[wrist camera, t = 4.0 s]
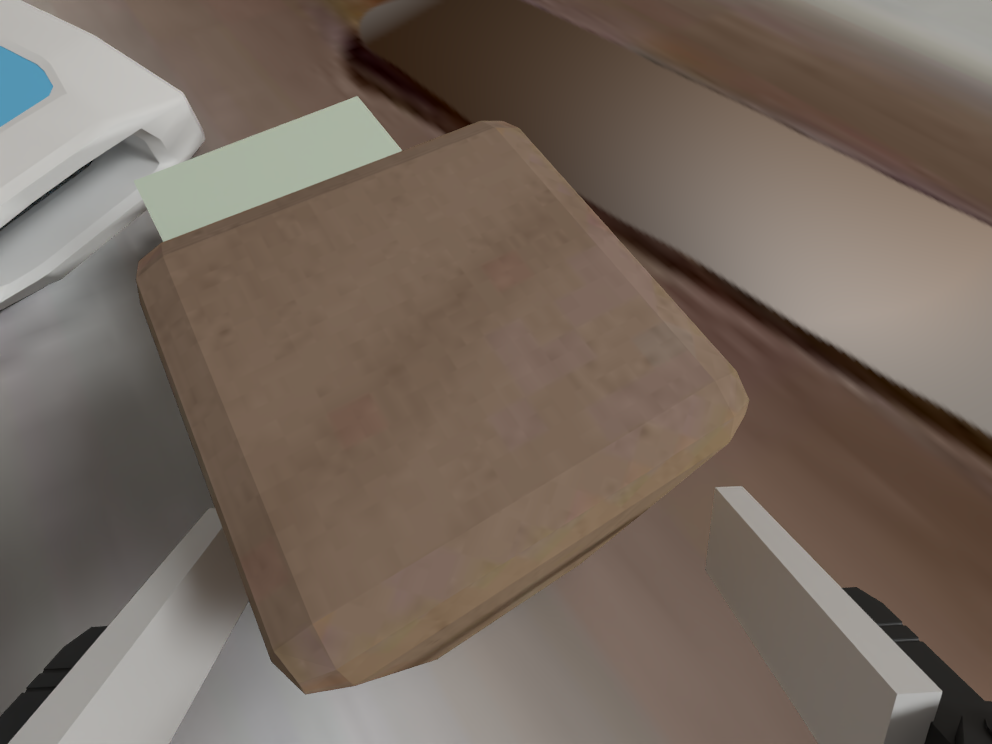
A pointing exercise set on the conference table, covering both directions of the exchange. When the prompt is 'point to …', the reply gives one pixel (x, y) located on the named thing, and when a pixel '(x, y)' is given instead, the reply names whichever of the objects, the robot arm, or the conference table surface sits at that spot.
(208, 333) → the block
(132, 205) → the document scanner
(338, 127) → the tower upper slab
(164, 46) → the conference table surface
